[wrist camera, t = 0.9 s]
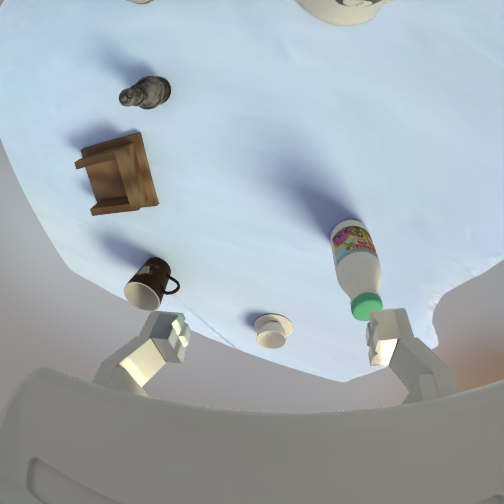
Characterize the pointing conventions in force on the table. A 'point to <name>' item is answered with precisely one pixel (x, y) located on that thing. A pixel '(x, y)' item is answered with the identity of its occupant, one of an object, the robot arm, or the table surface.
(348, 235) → the milk bottle
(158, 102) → the grey chess piece
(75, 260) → the table surface
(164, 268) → the coffee mug
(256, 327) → the teacup
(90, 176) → the u-rest
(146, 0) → the travel mug
